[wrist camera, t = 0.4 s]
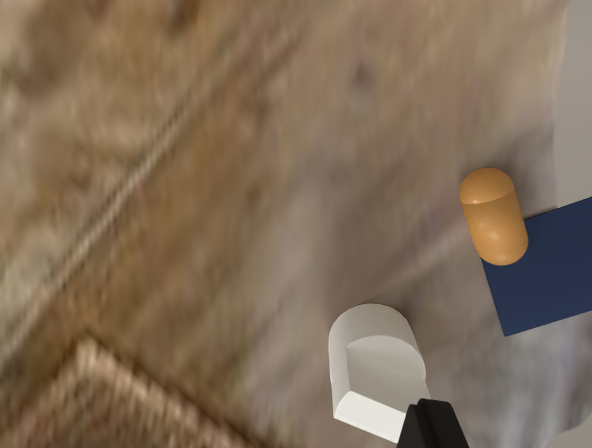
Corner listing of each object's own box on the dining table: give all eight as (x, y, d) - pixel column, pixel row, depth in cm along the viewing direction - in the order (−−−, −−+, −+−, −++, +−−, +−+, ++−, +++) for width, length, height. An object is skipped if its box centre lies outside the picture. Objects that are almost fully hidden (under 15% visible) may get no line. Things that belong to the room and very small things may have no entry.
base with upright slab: (314, 356, 49) (314, 442, 38) (352, 290, 47) (364, 360, 35) (387, 387, 50) (408, 479, 39) (428, 323, 48) (464, 403, 36)
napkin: (474, 237, 44) (475, 237, 44) (600, 193, 42) (601, 193, 42) (504, 336, 48) (505, 336, 48) (622, 300, 46) (623, 300, 46)
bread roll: (447, 174, 43) (461, 184, 38) (495, 156, 42) (516, 164, 37) (474, 261, 45) (491, 280, 41) (520, 245, 44) (543, 263, 40)
